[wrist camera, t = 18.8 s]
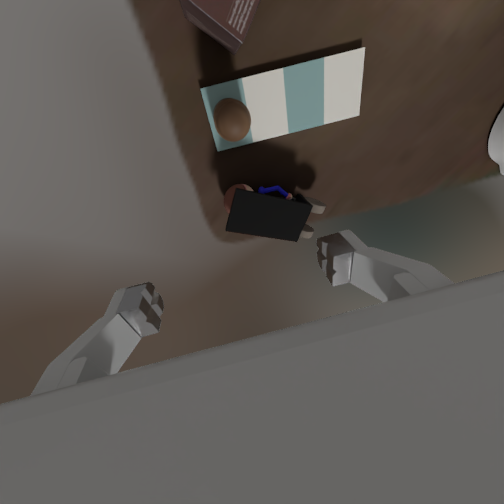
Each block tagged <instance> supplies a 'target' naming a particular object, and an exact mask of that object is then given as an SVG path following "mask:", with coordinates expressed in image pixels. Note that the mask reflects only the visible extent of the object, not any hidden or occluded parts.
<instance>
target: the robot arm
mask: <svg viewBox="0 0 504 504" xmlns="http://www.w3.org/2000/svg"><path fill="white" fill-rule="evenodd" d="M488 152H489V155H490V157H491V159H492V160H493V161H495V162H496V163H498V164H499V167H500V172H501V174H502V175H504V107H503V109H502V111H501V112H500V114H499V116H498V117H497V119H496V121H495V123H494V125H493V128H492V130H491V133H490V137H489V141H488ZM316 244H317V247H318V248H319V250H318V251H317V260H318V264H319V266H320V268H321V269H322V271H324V272H326V277H327V279H328V280H329V282H330V283H331V285H332V286H336V285H341V284H345V283H349V282H350V283H351V284H353V285H355V286H356V287H358V288H360V289H362V290H363V291H365V292H367V293H369V294H371V295H372V296H374V297H376V298H378V299H379V300H381V301H383V303H379V304H376V305H372V306H368V307H364V308H361V309H357V310H353V311H350V312H345V313H342V314H338V315H334V316H330V317H327V318H323V319H319V320H315V321H311V322H308V323H304V324H300V325H296V326H293V327H289V328H286V329H281V330H278V331H274V332H270V333H266V334H262V335H259V336H255V337H251V338H248V339H244V340H240V341H236V342H232V343H229V344H225V345H221V346H217V347H214V348H210V349H206V350H202V351H198V352H195V353H191V354H187V355H184V356H180V357H176V358H172V359H168V360H165V361H161V362H157V363H153V364H150V365H146V366H142V367H138V368H135V369H131V370H127V371H123V372H120V373H117V372H118V370H119V369H120V368H121V366H122V365H123V364H124V362H125V361H126V359H127V358H128V356H129V355H130V354H131V352H132V351H133V349H134V348H135V346H136V345H137V344H138V342H139V341H140V339H141V337H144V336H148V335H151V334H154V333H157V332H159V329H160V324H161V319H160V318H159V316H160V315H161V314H162V313H163V309H164V304H163V300H162V297H161V296H160V294H159V293H157V292H154V289H155V287H154V285H153V284H152V283H150V282H147V283H143V284H138V285H134V286H130V287H126V288H122V289H119V290H117V291H116V292H115V294H114V296H113V298H112V300H111V302H110V304H109V306H108V308H107V310H106V313H105V315H104V317H103V318H100V319H99V320H98V321H96V322H95V323H94V324H93V325H92V326H91V327H90V328H89V329H88V330H87V331H86V332H84V333H83V334H82V335H81V336H80V337H79V338H78V339H77V340H76V341H74V342H73V343H72V344H71V345H70V346H69V347H68V348H67V349H66V350H65V351H64V352H62V353H61V354H60V355H59V356H58V357H57V358H56V359H55V360H54V361H52V362H51V363H50V364H49V365H48V367H47V368H46V370H45V372H44V374H43V375H42V377H41V379H40V380H39V382H38V384H37V385H36V387H35V389H34V390H33V392H32V394H31V396H29V397H25V398H21V399H18V400H14V401H11V402H7V403H3V404H0V504H504V271H500V272H496V273H493V274H489V275H485V276H481V277H478V278H474V279H470V280H466V281H462V282H459V283H453V282H452V281H451V280H449V279H448V278H447V277H446V276H444V275H443V274H442V273H440V272H439V271H438V270H436V269H435V268H434V267H433V266H431V265H429V264H426V263H423V262H419V261H416V260H413V259H409V258H406V257H403V256H400V255H396V254H393V253H390V252H386V251H383V250H380V249H376V248H373V247H370V248H368V247H367V246H366V245H365V244H364V243H363V242H362V241H361V240H360V239H359V238H358V237H357V236H355V235H354V234H353V233H352V232H351V231H350V230H345V231H341V232H338V233H335V234H331V235H327V236H324V237H320V238H317V243H316Z"/></svg>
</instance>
